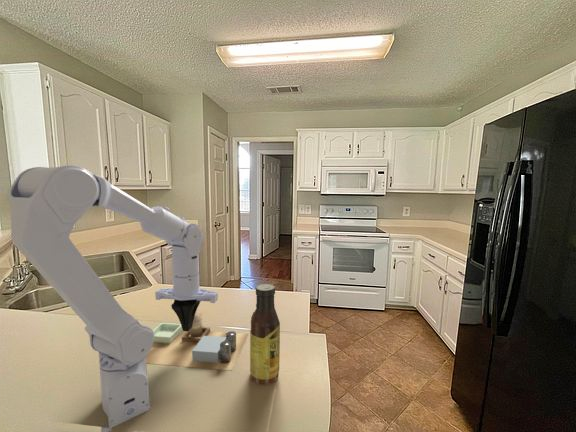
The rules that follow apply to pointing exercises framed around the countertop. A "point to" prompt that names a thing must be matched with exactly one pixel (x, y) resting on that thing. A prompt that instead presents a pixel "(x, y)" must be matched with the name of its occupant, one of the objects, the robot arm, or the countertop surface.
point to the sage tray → (166, 333)
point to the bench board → (182, 351)
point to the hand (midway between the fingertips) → (187, 328)
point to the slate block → (208, 349)
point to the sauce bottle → (264, 337)
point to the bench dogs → (227, 347)
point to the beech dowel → (196, 325)
